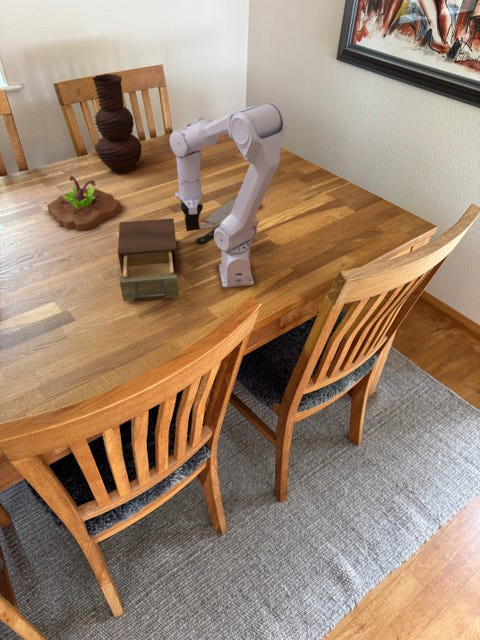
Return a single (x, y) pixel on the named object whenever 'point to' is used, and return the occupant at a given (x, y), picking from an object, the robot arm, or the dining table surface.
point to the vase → (115, 126)
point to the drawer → (148, 277)
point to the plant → (83, 207)
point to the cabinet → (147, 239)
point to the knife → (201, 225)
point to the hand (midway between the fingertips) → (192, 224)
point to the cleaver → (217, 219)
